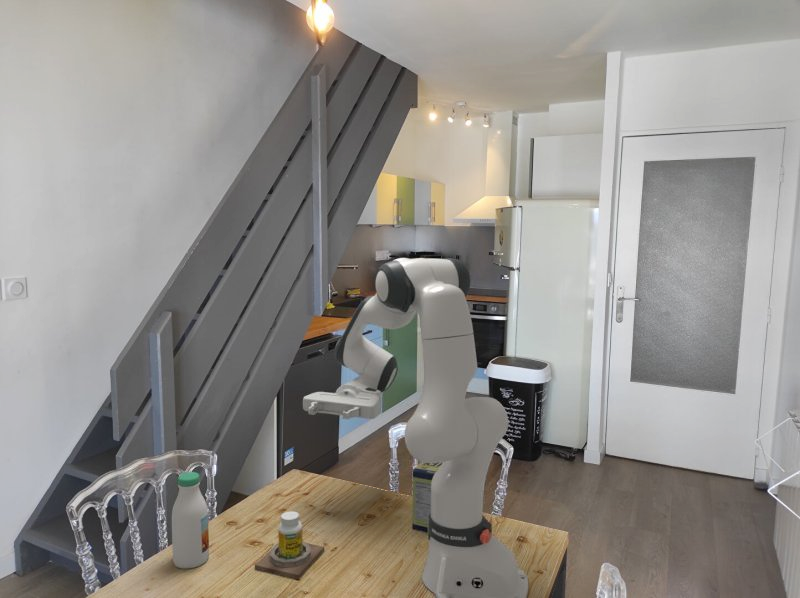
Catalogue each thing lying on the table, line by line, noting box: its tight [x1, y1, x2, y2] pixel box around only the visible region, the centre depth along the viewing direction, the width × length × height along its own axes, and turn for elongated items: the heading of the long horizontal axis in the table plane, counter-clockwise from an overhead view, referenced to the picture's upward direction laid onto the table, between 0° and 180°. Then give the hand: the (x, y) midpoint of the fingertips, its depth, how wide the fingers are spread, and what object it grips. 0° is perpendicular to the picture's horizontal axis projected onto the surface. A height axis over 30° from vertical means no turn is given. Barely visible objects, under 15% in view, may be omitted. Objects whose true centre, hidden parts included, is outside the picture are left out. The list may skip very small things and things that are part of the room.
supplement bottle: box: [277, 510, 303, 559], centre depth 129 cm, size 5×5×10 cm
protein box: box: [411, 462, 443, 533], centre depth 148 cm, size 10×16×16 cm
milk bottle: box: [171, 471, 210, 570], centre depth 128 cm, size 8×8×20 cm
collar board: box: [254, 541, 325, 580], centre depth 130 cm, size 11×12×2 cm
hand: (327, 413), depth 140 cm, fingers open, 8 cm apart
